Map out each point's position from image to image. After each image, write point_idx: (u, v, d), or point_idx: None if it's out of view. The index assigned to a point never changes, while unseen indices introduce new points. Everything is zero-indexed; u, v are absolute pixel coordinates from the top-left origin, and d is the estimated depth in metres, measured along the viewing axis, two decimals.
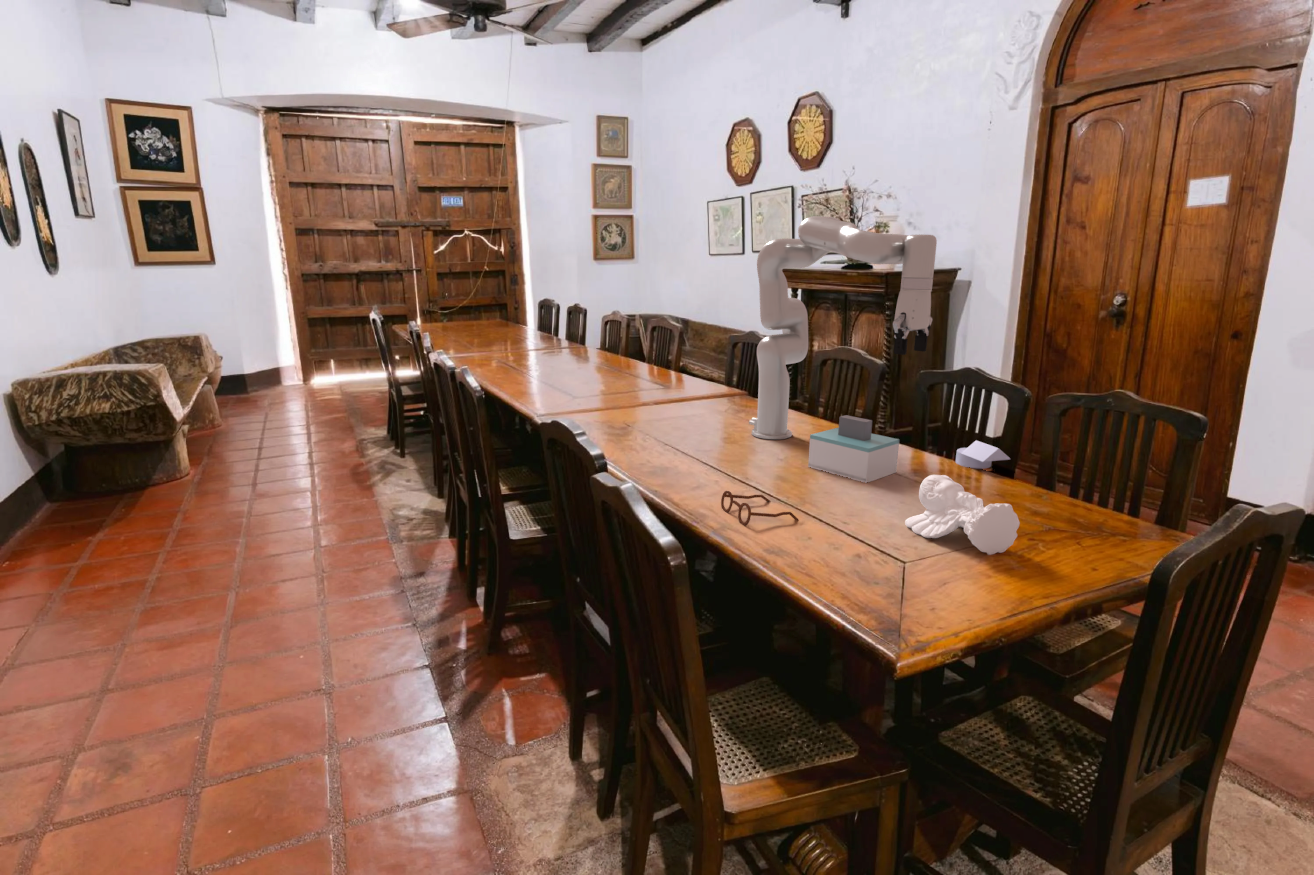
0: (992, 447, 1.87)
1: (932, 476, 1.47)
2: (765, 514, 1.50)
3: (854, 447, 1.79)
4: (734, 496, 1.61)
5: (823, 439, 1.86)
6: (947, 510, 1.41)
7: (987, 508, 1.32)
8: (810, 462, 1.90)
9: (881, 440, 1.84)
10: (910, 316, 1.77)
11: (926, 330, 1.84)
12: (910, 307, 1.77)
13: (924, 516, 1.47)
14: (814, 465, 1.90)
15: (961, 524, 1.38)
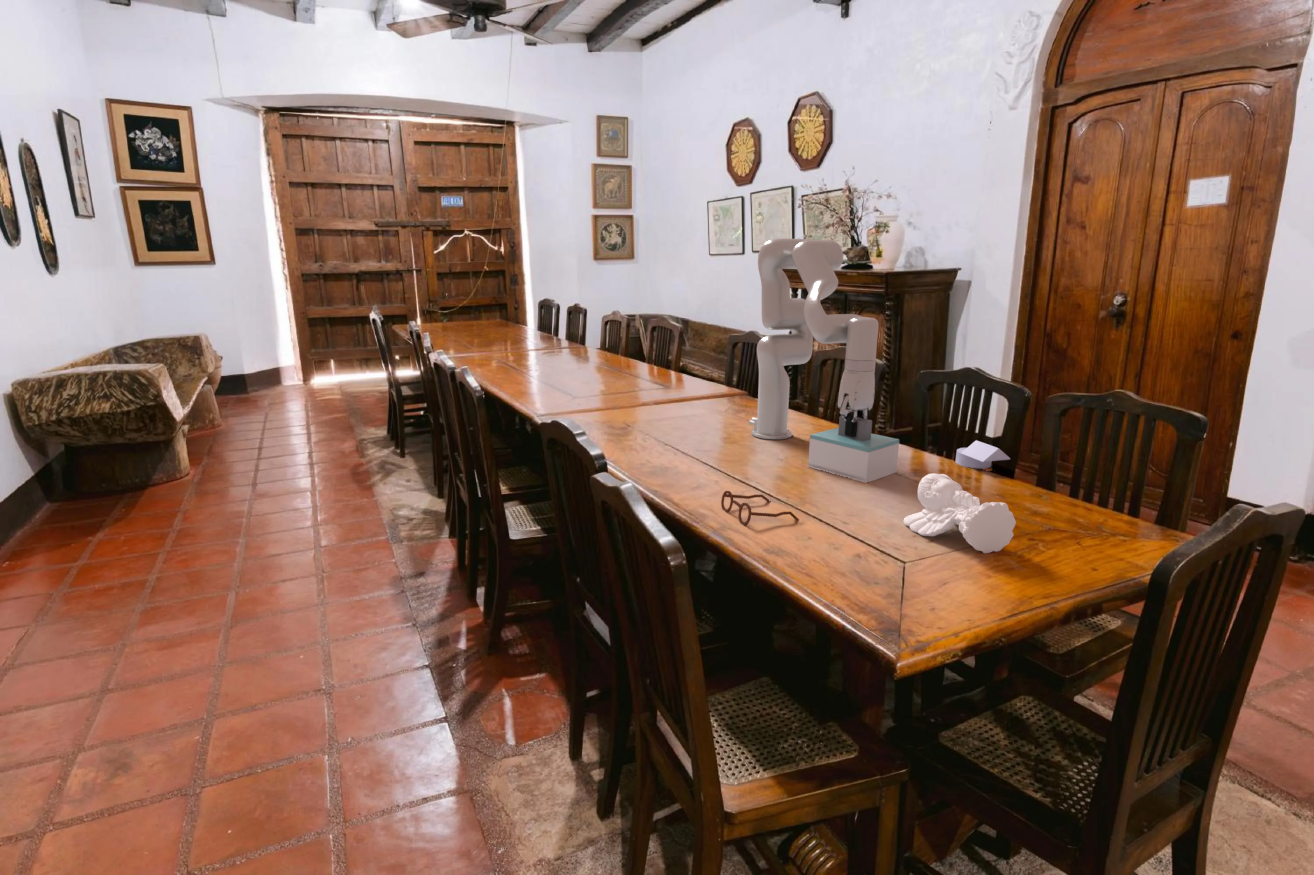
0: (992, 447, 1.87)
1: (931, 475, 1.48)
2: (765, 514, 1.50)
3: (854, 447, 1.79)
4: (734, 496, 1.61)
5: (823, 439, 1.86)
6: (944, 508, 1.42)
7: (982, 507, 1.33)
8: (810, 462, 1.90)
9: (881, 440, 1.84)
10: (853, 397, 1.80)
11: (865, 413, 1.86)
12: (852, 389, 1.79)
13: (922, 514, 1.48)
14: (814, 465, 1.90)
15: (957, 522, 1.39)
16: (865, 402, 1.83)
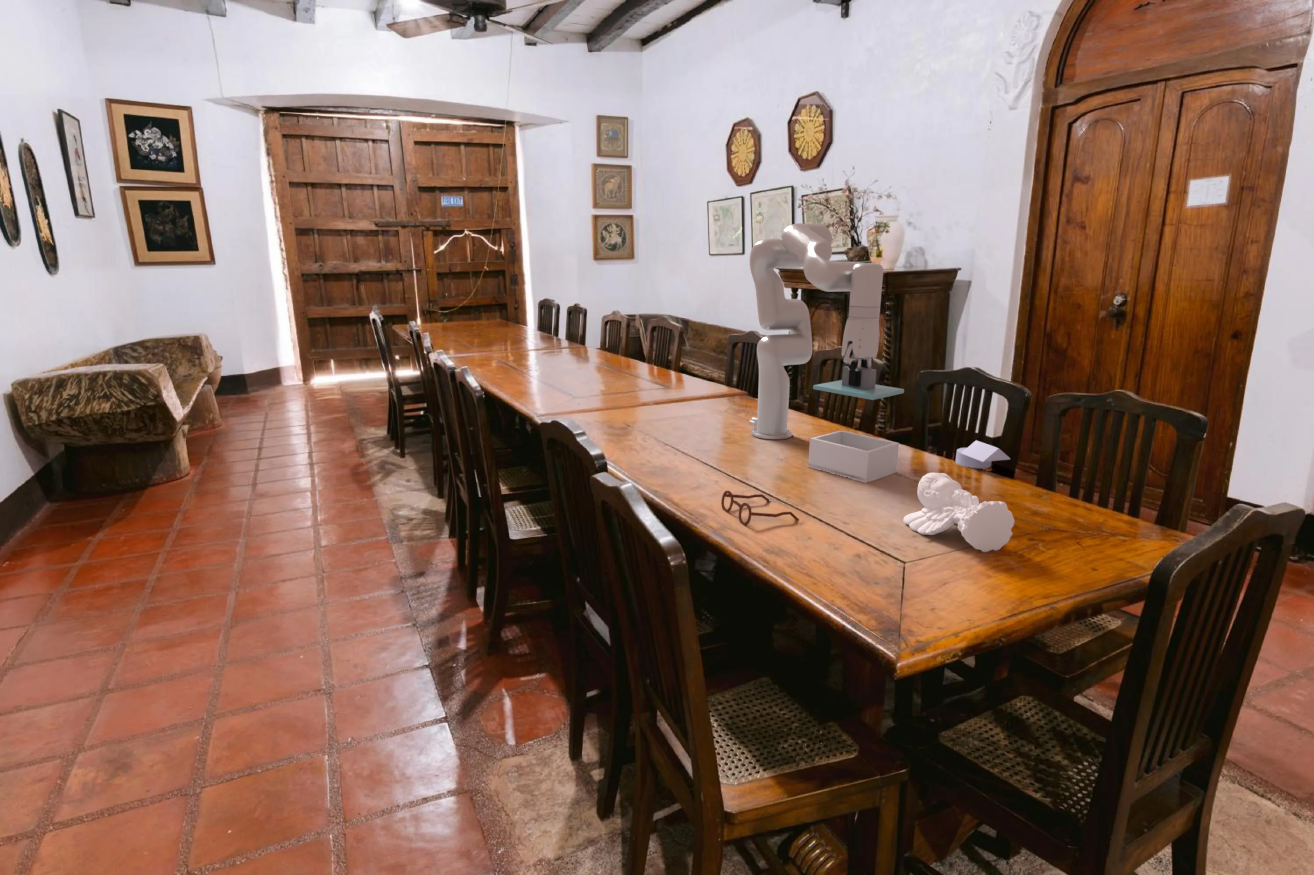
0: (992, 447, 1.87)
1: (930, 474, 1.49)
2: (765, 514, 1.50)
3: (858, 395, 1.76)
4: (734, 496, 1.61)
5: (826, 389, 1.83)
6: (943, 507, 1.43)
7: (981, 505, 1.34)
8: (810, 462, 1.90)
9: (885, 389, 1.80)
10: (857, 345, 1.76)
11: (869, 362, 1.82)
12: (856, 336, 1.76)
13: (922, 513, 1.48)
14: (814, 465, 1.90)
15: (956, 521, 1.40)
16: (869, 350, 1.80)
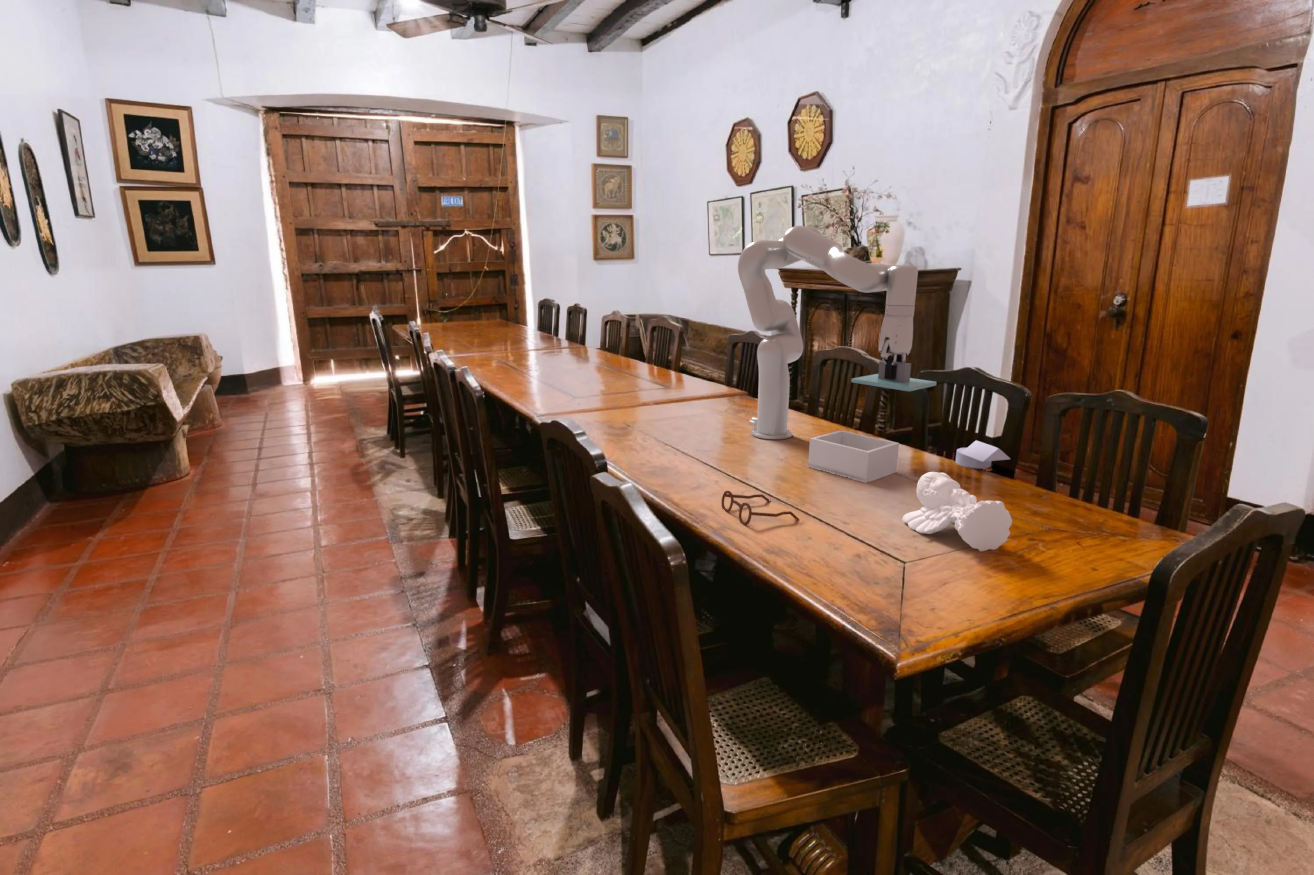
0: (992, 447, 1.87)
1: (929, 473, 1.49)
2: (766, 514, 1.50)
3: (895, 387, 1.90)
4: (734, 496, 1.61)
5: (864, 382, 1.97)
6: (941, 506, 1.43)
7: (977, 505, 1.34)
8: (810, 462, 1.90)
9: (919, 382, 1.94)
10: (893, 341, 1.91)
11: (904, 357, 1.97)
12: (893, 332, 1.90)
13: (920, 512, 1.49)
14: (814, 465, 1.90)
15: (954, 520, 1.40)
16: (904, 346, 1.94)
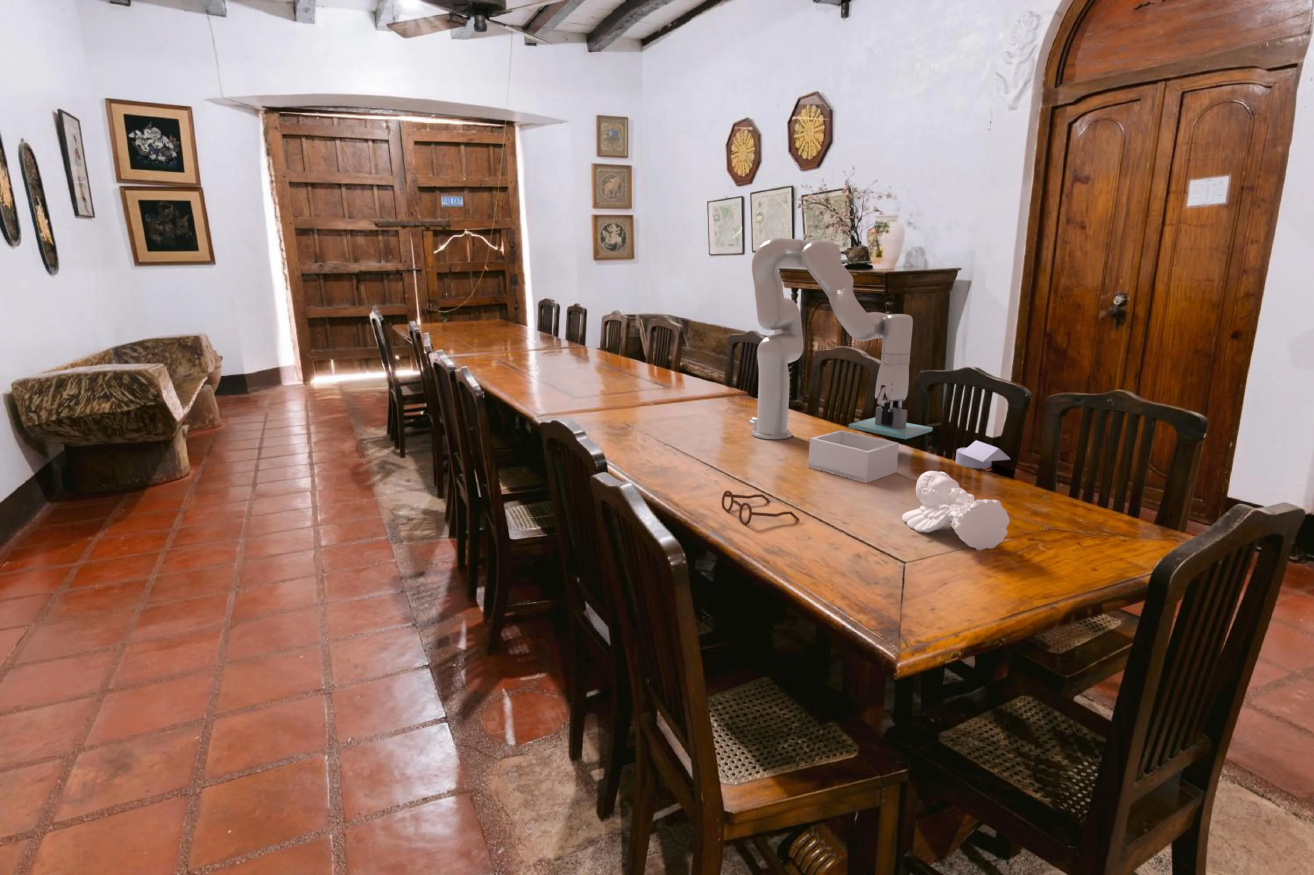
0: (992, 447, 1.87)
1: (929, 472, 1.50)
2: (766, 514, 1.50)
3: (891, 434, 1.93)
4: (735, 496, 1.61)
5: (861, 428, 2.00)
6: (940, 505, 1.44)
7: (974, 503, 1.35)
8: (810, 462, 1.90)
9: (916, 428, 1.98)
10: (889, 389, 1.94)
11: (900, 403, 2.00)
12: (889, 380, 1.94)
13: (919, 511, 1.50)
14: (814, 465, 1.90)
15: (952, 519, 1.41)
16: (900, 393, 1.97)
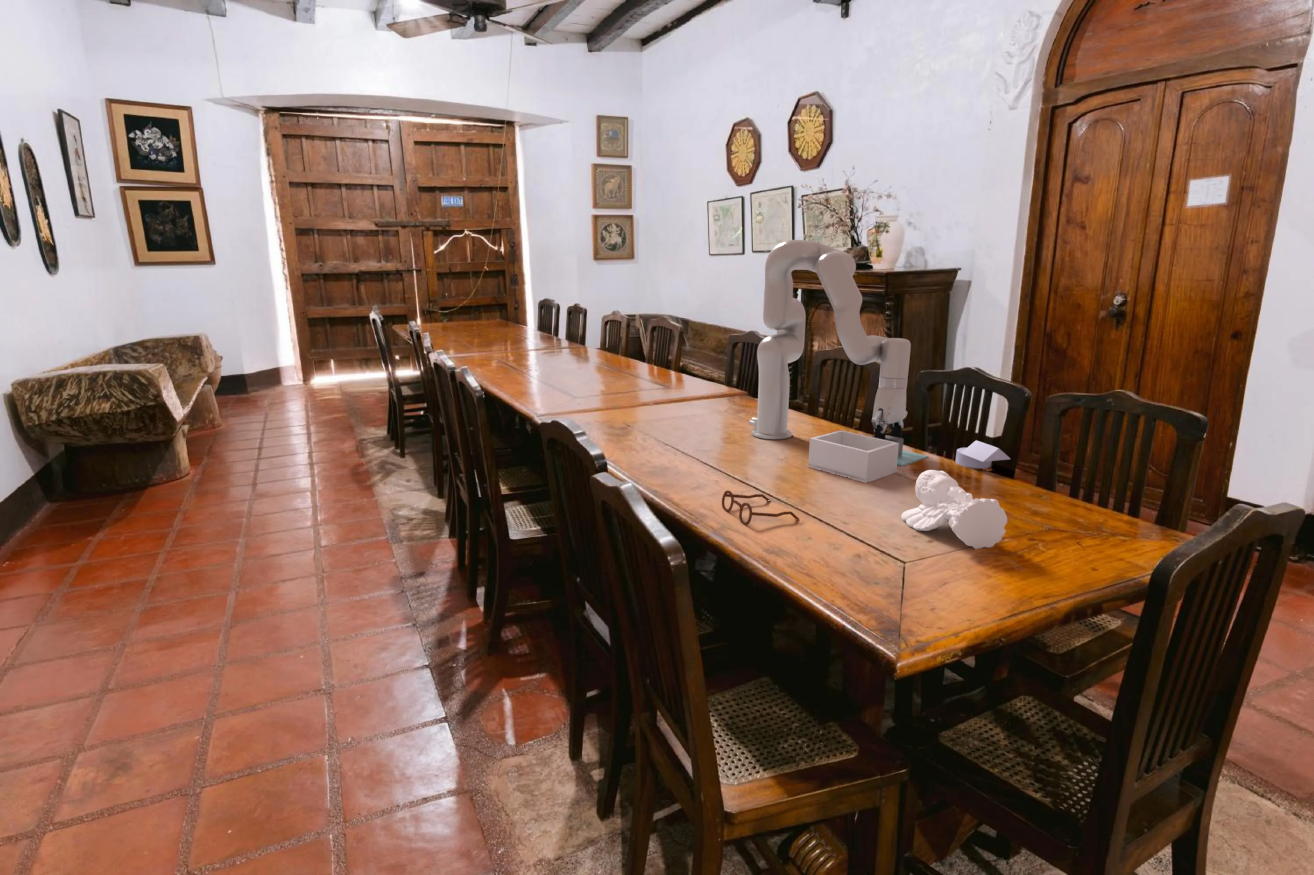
0: (992, 447, 1.88)
1: (928, 471, 1.50)
2: (766, 514, 1.50)
3: None
4: (735, 496, 1.61)
5: None
6: (938, 504, 1.45)
7: (972, 502, 1.35)
8: (810, 462, 1.90)
9: (912, 457, 2.00)
10: (887, 412, 1.96)
11: (901, 423, 2.03)
12: (886, 404, 1.95)
13: (919, 510, 1.50)
14: (814, 465, 1.90)
15: (950, 518, 1.42)
16: (898, 416, 1.99)
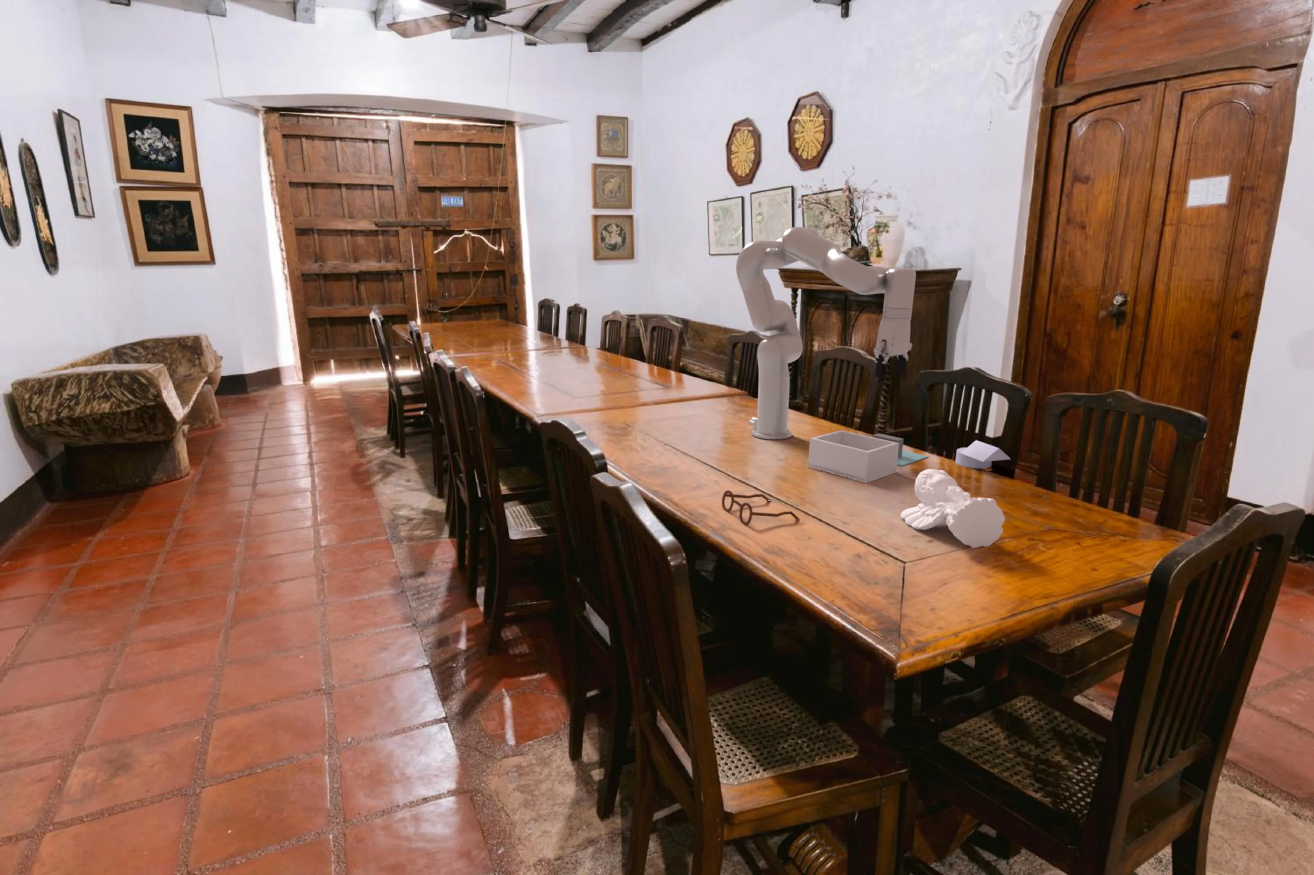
0: (992, 447, 1.88)
1: (927, 470, 1.51)
2: (766, 514, 1.50)
3: None
4: (735, 496, 1.61)
5: None
6: (936, 503, 1.45)
7: (968, 501, 1.36)
8: (810, 462, 1.90)
9: (911, 457, 2.00)
10: (890, 343, 1.92)
11: (906, 355, 1.99)
12: (890, 335, 1.92)
13: (917, 508, 1.51)
14: (814, 465, 1.90)
15: (947, 517, 1.42)
16: (901, 348, 1.95)
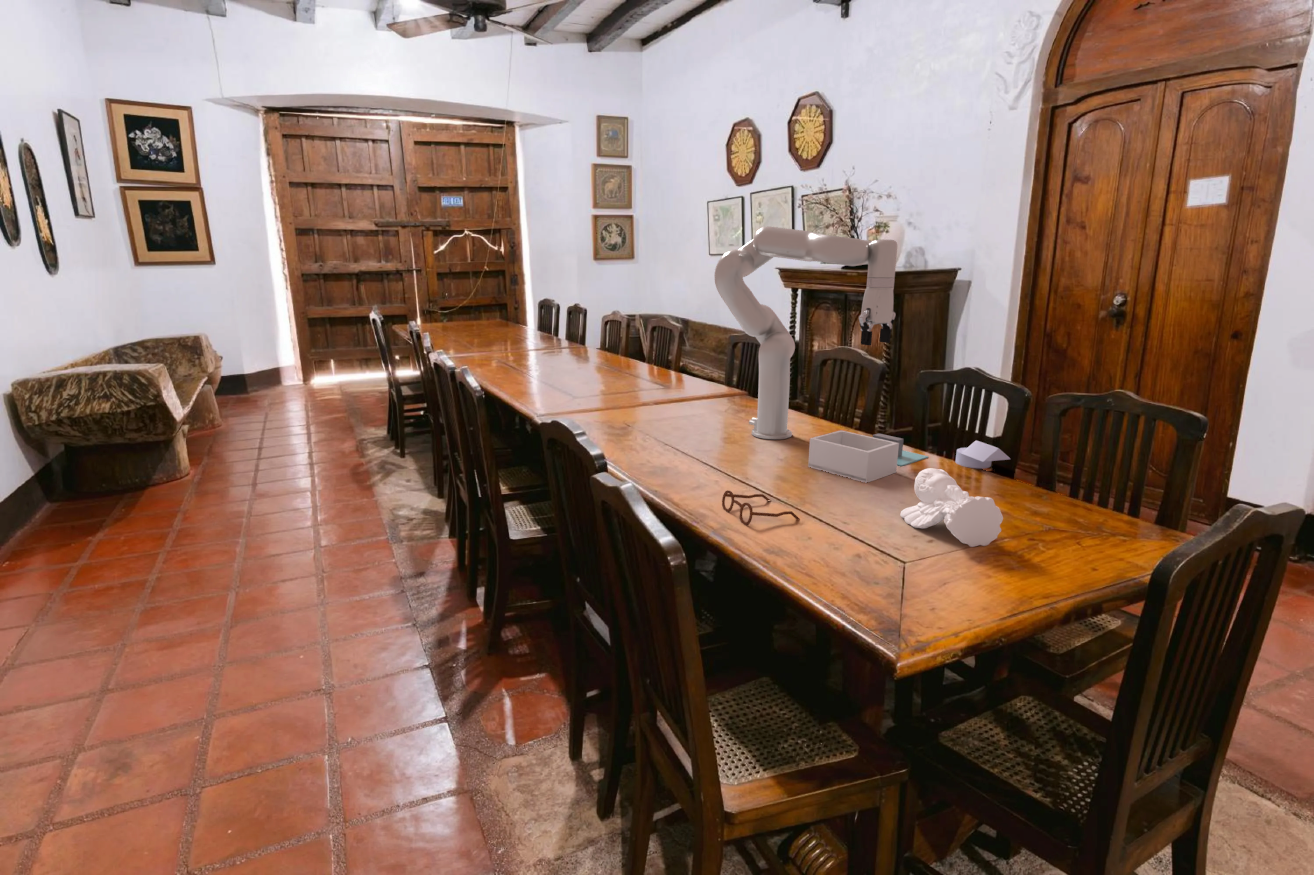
0: (992, 447, 1.88)
1: (927, 469, 1.52)
2: (767, 514, 1.50)
3: None
4: (735, 496, 1.61)
5: None
6: (935, 502, 1.46)
7: (966, 500, 1.37)
8: (810, 462, 1.90)
9: (911, 457, 2.00)
10: (874, 311, 2.01)
11: (889, 324, 2.09)
12: (874, 303, 2.01)
13: (917, 507, 1.52)
14: (814, 465, 1.90)
15: (946, 516, 1.43)
16: (885, 317, 2.05)
